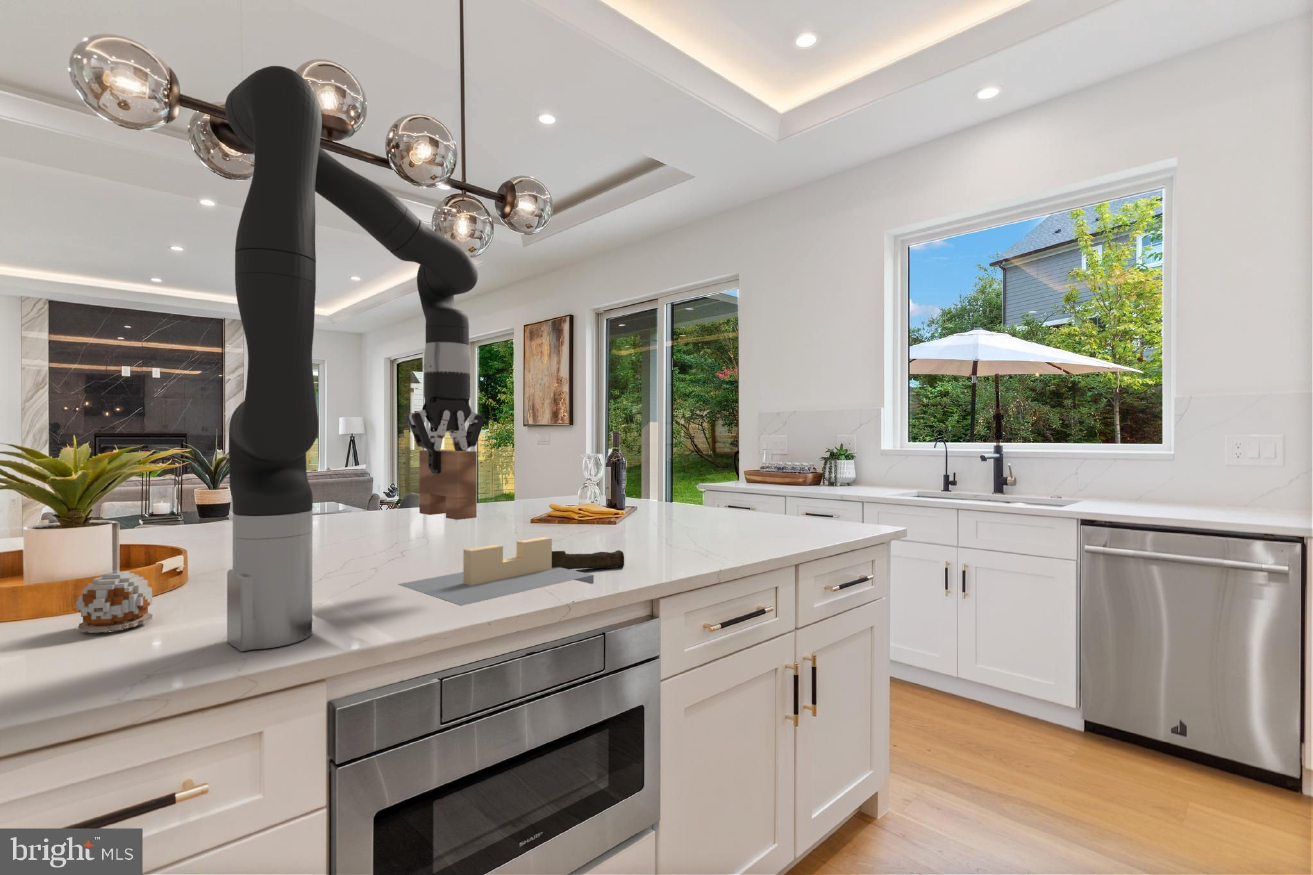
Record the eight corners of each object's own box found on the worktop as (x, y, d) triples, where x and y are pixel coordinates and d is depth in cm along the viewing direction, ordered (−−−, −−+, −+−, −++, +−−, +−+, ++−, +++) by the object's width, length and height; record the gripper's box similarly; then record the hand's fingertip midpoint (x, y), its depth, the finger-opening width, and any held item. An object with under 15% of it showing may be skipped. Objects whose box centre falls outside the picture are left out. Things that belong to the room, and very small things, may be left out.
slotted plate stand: (461, 614, 96) (461, 566, 96) (398, 592, 109) (398, 549, 109) (593, 582, 117) (593, 542, 117) (527, 567, 130) (527, 531, 130)
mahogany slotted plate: (457, 519, 101) (457, 452, 101) (419, 513, 109) (419, 450, 108) (476, 517, 103) (476, 451, 103) (438, 511, 111) (438, 449, 111)
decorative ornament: (64, 638, 84) (63, 527, 84) (102, 620, 92) (101, 519, 92) (131, 634, 86) (130, 525, 86) (163, 617, 93) (162, 518, 93)
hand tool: (618, 568, 133) (617, 546, 134) (625, 569, 130) (625, 546, 130) (531, 574, 125) (531, 550, 126) (536, 575, 121) (536, 551, 122)
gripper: (419, 366, 98) (419, 476, 98) (495, 373, 109) (495, 471, 109) (396, 369, 103) (396, 473, 103) (471, 375, 114) (471, 469, 114)
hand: (447, 472), depth 106 cm, fingers closed on mahogany slotted plate, 3 cm apart
